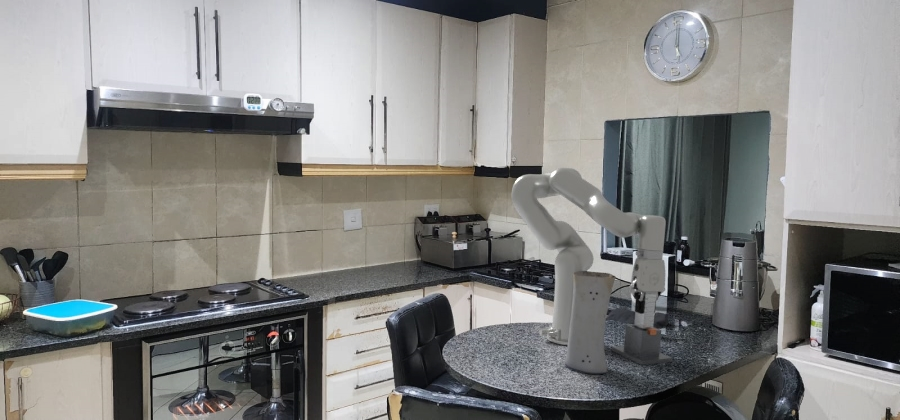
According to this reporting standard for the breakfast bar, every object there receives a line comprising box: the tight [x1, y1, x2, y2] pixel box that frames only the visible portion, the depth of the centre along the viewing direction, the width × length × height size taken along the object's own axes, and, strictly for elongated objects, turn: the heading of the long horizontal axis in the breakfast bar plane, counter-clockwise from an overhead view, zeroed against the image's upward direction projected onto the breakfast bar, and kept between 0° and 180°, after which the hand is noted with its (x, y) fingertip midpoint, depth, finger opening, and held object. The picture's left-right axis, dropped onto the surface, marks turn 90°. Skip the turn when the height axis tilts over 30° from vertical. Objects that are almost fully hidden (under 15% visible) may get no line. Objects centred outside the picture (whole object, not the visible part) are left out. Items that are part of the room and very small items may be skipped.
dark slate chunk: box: [606, 307, 669, 330], centre depth 237 cm, size 15×22×5 cm
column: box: [634, 292, 656, 331], centre depth 191 cm, size 4×4×16 cm
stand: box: [611, 324, 673, 366], centre depth 192 cm, size 12×14×10 cm
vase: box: [564, 270, 616, 375], centre depth 177 cm, size 13×14×28 cm
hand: (644, 311), depth 191 cm, fingers closed on column, 4 cm apart
